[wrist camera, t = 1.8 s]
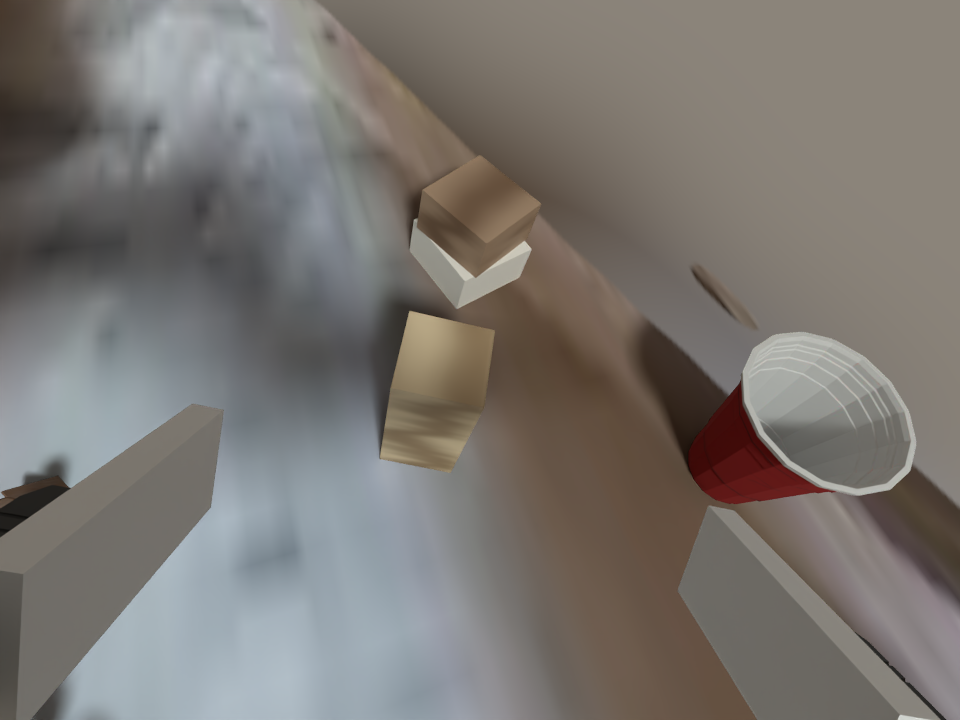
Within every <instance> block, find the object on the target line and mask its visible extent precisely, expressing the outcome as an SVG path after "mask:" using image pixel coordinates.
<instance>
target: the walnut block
mask: <svg viewBox="0 0 960 720" xmlns="http://www.w3.org/2000/svg"><path fill="white" fill-rule="evenodd" d="M540 206H541V203H539V202H538V201H537V200H536V199H535V198H533V197H532V196H531V195H530V194H528V193H527V192H526V191H524V190H523V189H522V188H521V187H519V186H518V185H517V184H515V183H514V182H513V181H512V180H511V179H509V178H508V177H507V176H506V175H504V174H503V173H502V172H501V171H499V170H498V169H497V168H496V167H494V166H493V165H492V164H491V163H489V162H488V161H487V160H486V159H484V158H483V157H482V156H481V155H479V156H478V157H476V158H474V159H473V160H471V161H469V162H468V163H466V164H464V165H463V166H461V167H459V168H458V169H456V170H454V171H453V172H451V173H449V174H448V175H446V176H444V177H443V178H441V179H439V180H438V181H436V182H434V183H433V184H431V185H429V186H428V187H426V188H424V189H423V190H422V196H421V202H420V209H419V215H418V222H417V228H418V229H419V230H420V231H422V232H423V233H424V234H425V235H426V236H427V237H428V238H430V239H431V240H432V241H433V242H434V243H436V244H437V245H438V246H439V247H440V248H441V249H443V250H444V251H445V252H446V253H447V254H448V255H449V256H451V257H452V258H453V259H454V260H455V261H456V262H458V263H459V264H460V265H461V266H462V267H463V268H465V269H466V270H467V271H468V272H469V273H470V274H471V275H473V276H474V277H475V278H477V277H478V276H479V275H480V274H482V273H483V272H484V271H486V270H487V269H488V268H490V267H491V266H492V265H494V264H495V263H496V262H497V261H499V260H500V259H501V258H503V257H504V256H505V255H507V254H508V253H509V252H511V251H512V250H513V249H514V248H516V247H517V246H518V245H520V244H521V243H522V242H524V241H525V240H526V239H527V238H528V235H529V233H530V230H531V228H532V225H533V223H534V221H535V218H536V216H537V213H538V211H539V208H540Z"/></svg>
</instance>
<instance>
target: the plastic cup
mask: <svg viewBox="0 0 960 720" xmlns="http://www.w3.org/2000/svg"><path fill="white" fill-rule="evenodd" d="M915 448H916V438H915V435H914V430H913V425H912V421H911V417H910V412H909V410H908V409H907V407H906V406H905V404H904V402H903V401H902V399H901V397H900V396H899V394H898V393H897V391H896V389H895V388H894V386H893V384H892V383H891V381H890V380H888V379H887V378H886V377H885V376H884V375H883V374H882V373H881V372H880V371H879V370H878V369H877V368H876V367H875V366H874V365H873V364H872V363H870V362H869V361H868V360H867V359H866V358H865V357H864V356H862V355H861V354H859V353H857V352H855V351H854V350H852V349H850V348H848V347H846V346H845V345H843V344H841V343H839V342H838V341H836V340H834V339H830V338H826V337H822V336H818V335H814V334H810V333H806V332H795V333H785V334H777V335H773V336H772V337H770V338H769V339H767V340H765V341H764V342H762V343H761V344H759V345H758V346H756V347H755V348H753V350H752V353H751V355H750V357H749V359H748V361H747V363H746V365H745V367H744V370H743V372H742V374H741V381H740V383H739V385H738V386H737V387H736V388H735V389H734V390H733V392H732V393H731V394H730V395H729V397H728V398H727V399H726V400H725V401H724V403H723V404H722V405H721V406H720V407H719V409H718V410H717V411H716V412H715V413H714V415H713V416H712V417H711V418H710V420H709V422H708V424H707V425H706V426H705V427H704V428H703V429H702V430H701V432H700V433H699V434H698V435H697V436H696V437H695V440H694V442H693V444H692V446H691V448H690V450H689V452H688V460H689V468H690V470H691V473H692V476H693V478H694V480H695V481H696V483H697V484H698V485H699V486H700V488H701V489H702V490H703V491H704V492H705V493H707V494H708V495H709V496H711V497H712V498H714V499H715V500H718V501H721V502H725V503H729V504H731V503H733V504H739V503H745V502H751V501H765V500H771V499H777V498H783V497H789V496H796V495H802V494H808V493H814V492H815V493H823V492H841V493H845V494H849V495H864V494H869V493H875V492H880V491H885V490H890V489H891V488H892V487H894V486H895V485H896V484H897V483H898V482H899V481H900V480H901V479H902V478H903V477H904V476H905V475H906V474H907V473H909V472H910V470H911V466H912V461H913V457H914V452H915Z"/></svg>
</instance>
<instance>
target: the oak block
mask: <svg viewBox="0 0 960 720" xmlns="http://www.w3.org/2000/svg"><path fill="white" fill-rule="evenodd" d="M494 333H495V330H491V329H486V328H482V327H478V326H473V325H469V324H465V323H460V322H456V321H452V320H447V319H443V318H438V317H434V316H430V315H425V314H421V313H417V312H412V311H409V315H408V319H407V323H406V327H405V331H404V335H403V339H402V344H401V348H400V352H399V356H398V360H397V364H396V368H395V372H394V376H393V380H392V384H391V389H390V395H389V402H388V408H387V415H386V421H385V428H384V434H383V441H382V447H381V454H380V459H383V460H388V461H394V462H399V463H404V464H409V465H414V466H419V467H424V468H429V469H434V470H439V471H444V472H449V473H451V471H452V469H453V467H454V465H455V463H456V461H457V459H458V457H459V455H460V453H461V452H462V450H463V448H464V446H465V444H466V442H467V440H468V438H469V436H470V434H471V432H472V430H473V428H474V426H475V424H476V423H477V421H478V419H479V417H480V415H481V413H482V411H483V409H484V405H485V398H486V391H487V383H488V376H489V369H490V362H491V355H492V348H493V341H494Z"/></svg>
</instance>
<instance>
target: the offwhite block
mask: <svg viewBox="0 0 960 720" xmlns="http://www.w3.org/2000/svg"><path fill="white" fill-rule="evenodd" d="M417 222H418V218H417V219H414V223H413V230H412V237H411V243H410V250H409V251H410V252H411V253H412V254H413V256H414V257H415V258H416V259H417V261H418V262H419V263H420V264H421V266H422V267H423V268H424V269H425V270H426V272H427V273H428V274H429V275H430V277H431V278H432V279H433V280H434V282H435V283H436V284H437V285H438V287H439V288H440V289H441V290H442V292H443V293H444V294H445V295H446V297H447V298H448V299H449V300H450V302H451V303H452V304H453V305H454V307H455V308H456V309H458V308H460V307H462V306H464V305H466V304H468V303H470V302H472V301H474V300H476V299H478V298H480V297H482V296H484V295H485V294H487V293H489V292H491V291H493V290H495V289H497V288H499V287H501V286H503V285H505V284H507V283H509V282H511V281H513V280H515V279H517V278H519V277H520V275H521V273H522V270H523V268H524V266H525V264H526V261H527V259H528V257H529V254H530V252H531V250H532V249H531V248H530V247H529V246H528V244H527V243H526V242H525V241H524V242H522V243H521V244H520V245H518V246H517V247H516V248H514V249H513V250H512V251H511V252H509V253H508V254H507V255H505V256H504V257H503V258H501V259H500V260H499V261H497V262H496V263H495V264H494V265H492V266H491V267H490V268H488V269H487V270H486V271H484V272H483V273H482V274H480V275H479V276H478V277H477V278H475V277H474V276H473V275H471V274H470V273H469V272H468V271H467V270H466V269H465V268H463V267H462V266H461V265H460V264H459V263H458V262H456V261H455V260H454V259H453V258H452V257H451V256H449V255H448V254H447V253H446V252H445V251H444V250H443V249H441V248H440V247H439V246H438V245H437V244H436V243H434V242H433V241H432V240H431V239H430V238H428V237H427V236H426V235H425V234H424V233H423V232H422V231H420V230H419V229H418V228H417Z"/></svg>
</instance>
